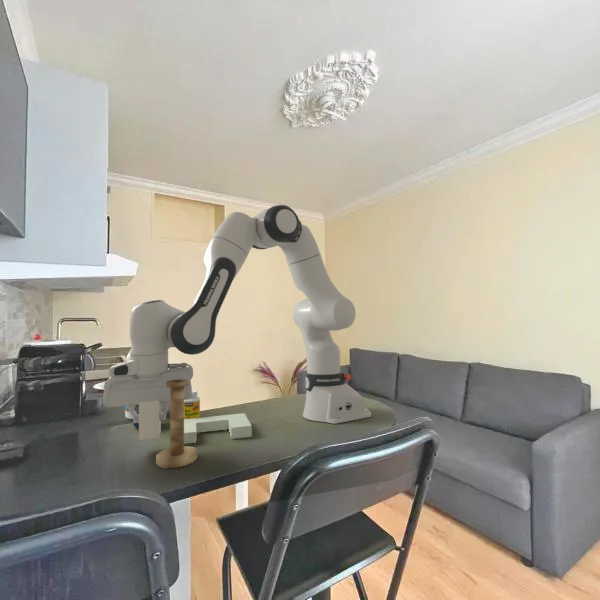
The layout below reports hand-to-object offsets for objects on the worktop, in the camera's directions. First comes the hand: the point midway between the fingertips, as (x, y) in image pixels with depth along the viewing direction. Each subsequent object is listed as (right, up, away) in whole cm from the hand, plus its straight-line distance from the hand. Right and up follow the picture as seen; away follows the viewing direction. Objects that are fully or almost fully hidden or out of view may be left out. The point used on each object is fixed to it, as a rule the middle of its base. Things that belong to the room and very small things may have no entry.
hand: (150, 421), depth 86 cm
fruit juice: (-17, -9, +31) cm, 36 cm away
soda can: (-10, -9, +19) cm, 23 cm away
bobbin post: (+9, -7, -6) cm, 13 cm away
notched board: (+13, -8, +12) cm, 19 cm away
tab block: (0, -4, 0) cm, 4 cm away
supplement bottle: (+4, -8, +20) cm, 22 cm away
